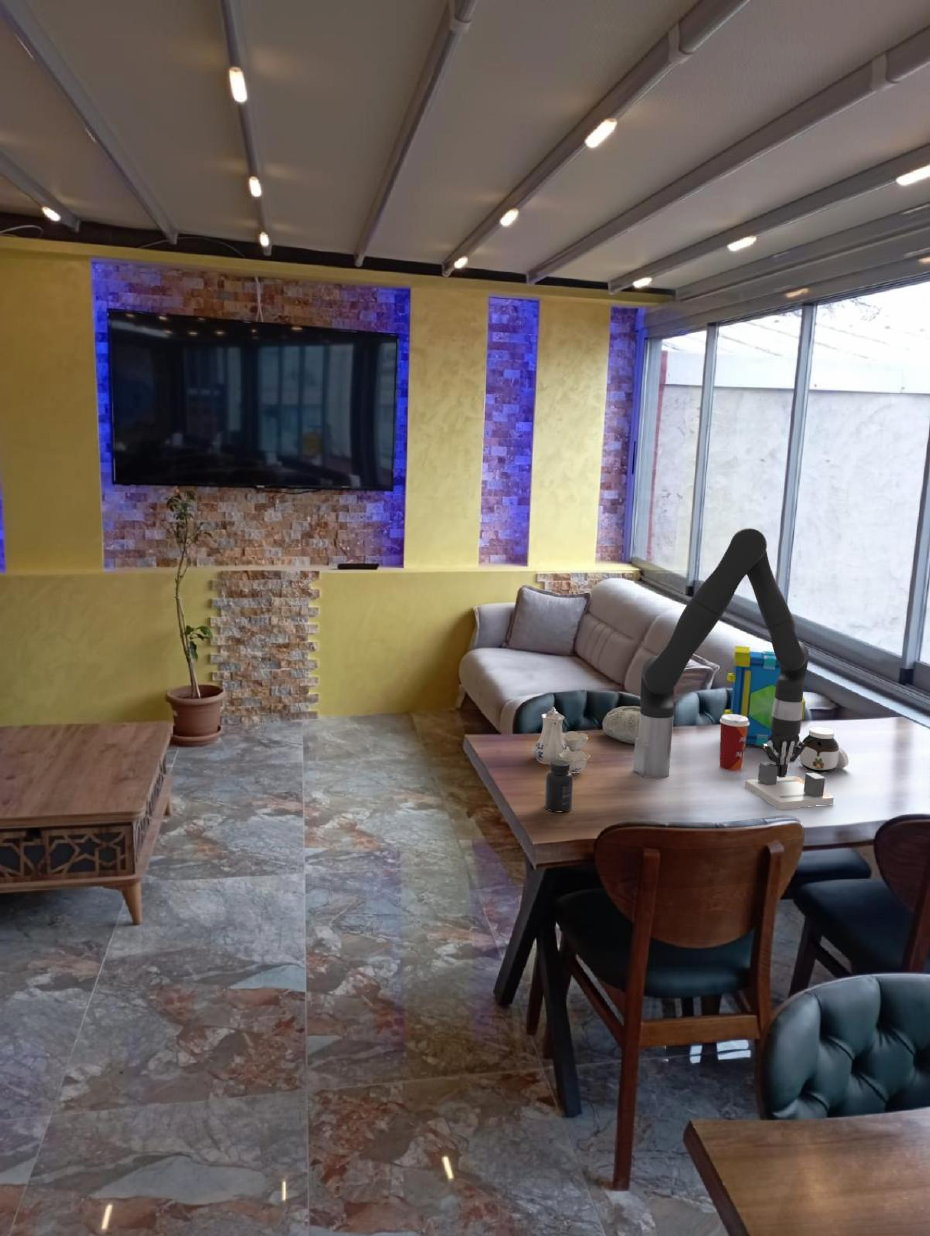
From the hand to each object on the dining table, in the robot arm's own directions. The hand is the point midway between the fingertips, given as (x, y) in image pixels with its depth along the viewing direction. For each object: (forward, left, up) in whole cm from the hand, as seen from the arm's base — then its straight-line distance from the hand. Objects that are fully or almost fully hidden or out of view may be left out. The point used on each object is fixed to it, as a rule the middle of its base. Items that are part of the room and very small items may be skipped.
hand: (780, 776), depth 241 cm
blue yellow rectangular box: (+17, +35, -4) cm, 39 cm away
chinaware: (-51, +31, -4) cm, 60 cm away
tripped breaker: (-4, 0, -1) cm, 4 cm away
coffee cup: (-4, +18, -4) cm, 19 cm away
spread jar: (+23, +12, -4) cm, 26 cm away
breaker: (+3, -10, -1) cm, 11 cm away
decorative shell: (-22, +47, -4) cm, 52 cm away
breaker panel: (-1, -5, -3) cm, 6 cm away
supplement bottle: (-65, -1, -4) cm, 65 cm away
